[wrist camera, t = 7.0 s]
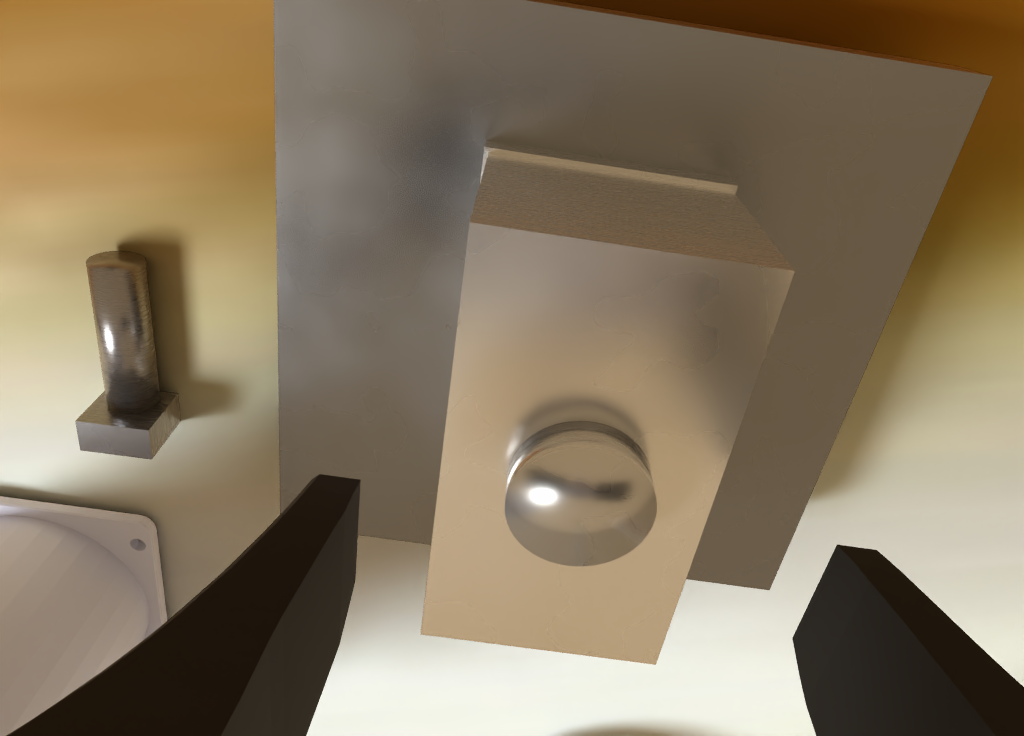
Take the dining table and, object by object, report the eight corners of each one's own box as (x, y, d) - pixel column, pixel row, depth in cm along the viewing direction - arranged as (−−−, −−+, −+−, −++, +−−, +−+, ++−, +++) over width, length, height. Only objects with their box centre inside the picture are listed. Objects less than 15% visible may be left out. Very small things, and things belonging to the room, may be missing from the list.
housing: (731, 178, 16) (820, 286, 11) (634, 513, 20) (664, 701, 15) (486, 140, 15) (458, 232, 10) (443, 487, 20) (409, 668, 15)
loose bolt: (180, 420, 23) (151, 459, 21) (114, 412, 23) (80, 450, 21) (166, 256, 20) (131, 285, 19) (91, 246, 20) (49, 274, 19)
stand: (744, 520, 24) (769, 590, 21) (309, 460, 23) (280, 524, 21) (924, 56, 17) (992, 75, 15) (315, -43, 17) (273, -41, 14)
